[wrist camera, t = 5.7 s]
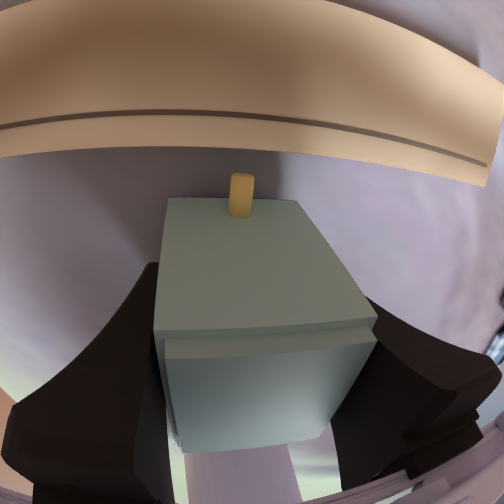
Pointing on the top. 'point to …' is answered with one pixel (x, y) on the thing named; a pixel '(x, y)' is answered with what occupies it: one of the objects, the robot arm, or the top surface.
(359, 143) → the plank
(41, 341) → the top surface
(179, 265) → the green box with tab
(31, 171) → the top surface
